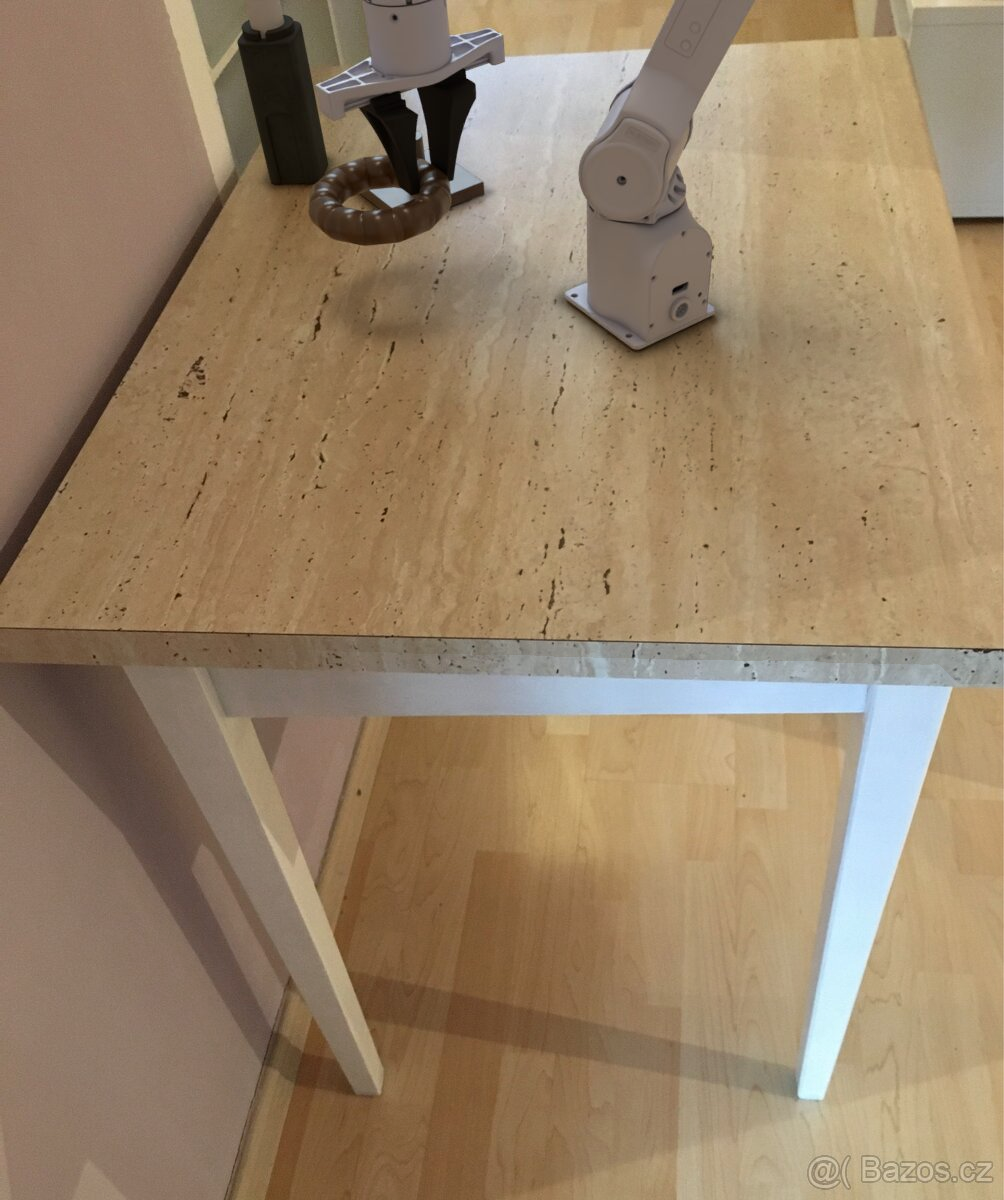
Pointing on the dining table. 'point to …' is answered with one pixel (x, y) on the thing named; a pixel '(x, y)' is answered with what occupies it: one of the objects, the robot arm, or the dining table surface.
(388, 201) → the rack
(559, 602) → the dining table surface
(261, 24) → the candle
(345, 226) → the segmented ring
